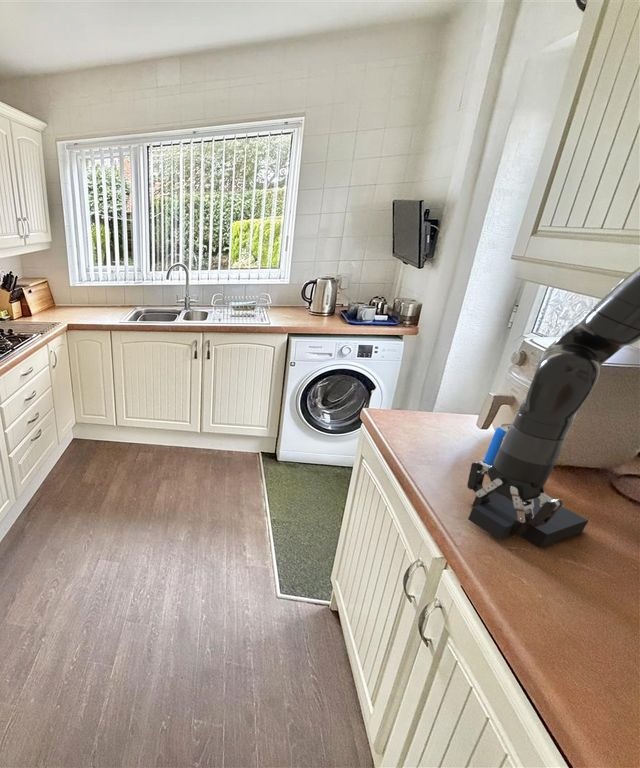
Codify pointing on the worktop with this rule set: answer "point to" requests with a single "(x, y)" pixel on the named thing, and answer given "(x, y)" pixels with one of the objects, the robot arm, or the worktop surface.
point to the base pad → (549, 523)
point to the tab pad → (494, 518)
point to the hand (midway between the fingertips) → (495, 522)
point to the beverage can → (496, 443)
